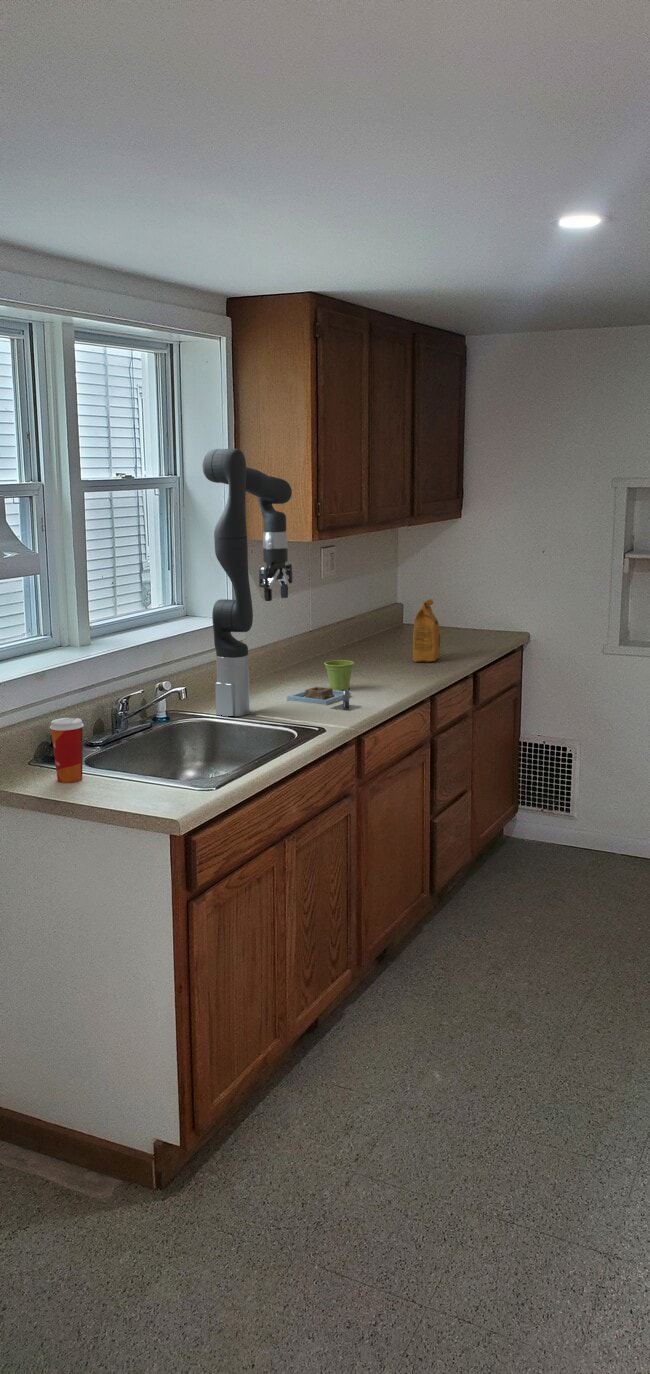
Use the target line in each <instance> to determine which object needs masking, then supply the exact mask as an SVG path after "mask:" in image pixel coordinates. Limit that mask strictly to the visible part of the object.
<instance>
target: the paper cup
mask: <svg viewBox="0 0 650 1374" xmlns="http://www.w3.org/2000/svg"><path fill="white" fill-rule="evenodd" d="M84 727H85V726H84V723H83V720H82V719H81V718H79V717H77V718H75V717H61V718H56V719H53V720H52V721H50V725H49V729H50V730H51V731H50V732H51V739H52V748H53V757H54V764H55V765H54V766H55V770H56V771H55V772H56V778H57V779H56V780H57V781H58V783H61V784H69V783H70V784H71V783H77V782H80V781H82V779H83V728H84Z"/></svg>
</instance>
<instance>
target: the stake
mask: <svg viewBox="0 0 650 1374" xmlns="http://www.w3.org/2000/svg"><path fill="white" fill-rule="evenodd" d="M342 692H343V699H342V703H341V704H339V705H335V706H333V707H329V709H331V710H339V711H346V712H347V711H348V712H351V711H354V710H357V709H359V708H362V707H363V705H355V704H350V697H349V692H350V690H349V689H348V690H342Z"/></svg>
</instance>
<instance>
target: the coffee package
mask: <svg viewBox="0 0 650 1374" xmlns="http://www.w3.org/2000/svg"><path fill="white" fill-rule="evenodd" d="M434 603H435V602H434V600H433V599H430V598H429V599H427V600H425V601H423V603H422V606H421V608H420V609H419V611H418V612H417V613H416V616H415V618H414V623H413V625H414V626H413V631H412V632H413V633H412V662H413V663H429V662H431V663H432V662H435V661H436V660H438V659H439V657H440V655H441V652H440V649H441V628H440V624H439V621H438V619H437V617H436V616H435V614H434V613H433V609H432V607H431V606H432V605H433V604H434Z"/></svg>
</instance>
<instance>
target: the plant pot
mask: <svg viewBox="0 0 650 1374" xmlns="http://www.w3.org/2000/svg"><path fill="white" fill-rule="evenodd" d="M354 664H355V662H354V661H352V660H347V659H346V660H345V659H337V660H333V659H332V660H328V661H326V662H324V664H323V665H325V669H326V673H327V677H328V683H329V688H333V690H334V691H343V690H349V689H350V683H351V676H352V670H353V666H354Z"/></svg>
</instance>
